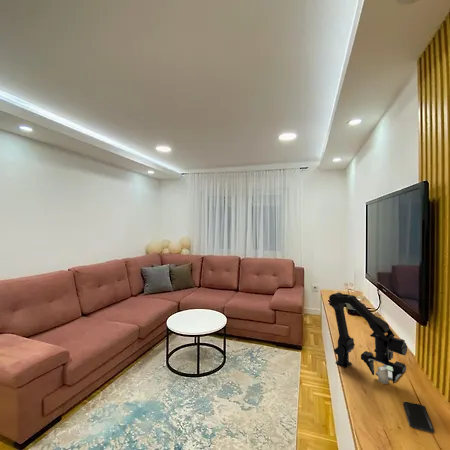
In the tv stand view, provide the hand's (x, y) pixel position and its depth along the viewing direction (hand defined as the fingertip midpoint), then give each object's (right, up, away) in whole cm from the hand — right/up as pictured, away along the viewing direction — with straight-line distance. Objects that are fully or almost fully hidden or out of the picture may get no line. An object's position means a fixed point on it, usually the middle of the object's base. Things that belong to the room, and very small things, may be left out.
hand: (383, 378), depth 128 cm
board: (+8, -1, +7) cm, 11 cm away
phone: (-1, -2, -24) cm, 24 cm away
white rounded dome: (0, -1, 0) cm, 1 cm away
